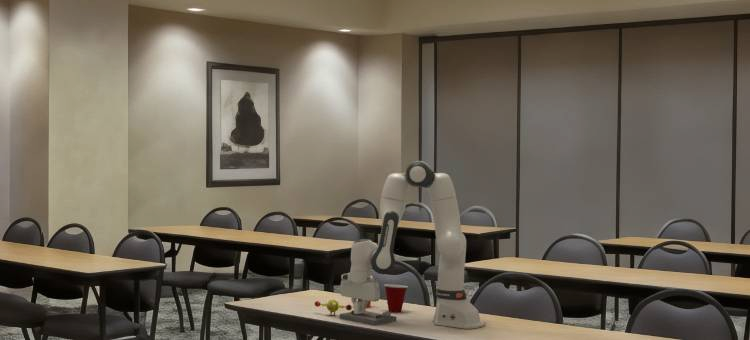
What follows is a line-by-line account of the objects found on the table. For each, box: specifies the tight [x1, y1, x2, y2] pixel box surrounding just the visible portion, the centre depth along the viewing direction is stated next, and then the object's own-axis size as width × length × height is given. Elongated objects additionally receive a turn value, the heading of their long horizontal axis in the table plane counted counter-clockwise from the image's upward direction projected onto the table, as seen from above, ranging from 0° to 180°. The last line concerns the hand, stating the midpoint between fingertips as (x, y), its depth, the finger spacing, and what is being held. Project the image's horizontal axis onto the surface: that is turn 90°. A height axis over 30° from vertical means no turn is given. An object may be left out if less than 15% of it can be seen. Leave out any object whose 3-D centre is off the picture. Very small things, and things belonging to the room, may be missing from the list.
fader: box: [353, 300, 366, 314], centre depth 404 cm, size 2×5×5 cm, turn 138°
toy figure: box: [314, 299, 353, 317], centre depth 410 cm, size 18×6×7 cm, turn 64°
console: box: [339, 309, 397, 326], centre depth 402 cm, size 20×14×4 cm
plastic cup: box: [383, 283, 409, 313], centre depth 425 cm, size 11×11×12 cm
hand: (359, 309), depth 404 cm, fingers open, 3 cm apart
